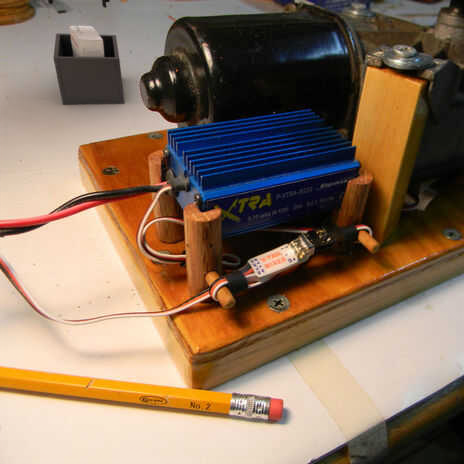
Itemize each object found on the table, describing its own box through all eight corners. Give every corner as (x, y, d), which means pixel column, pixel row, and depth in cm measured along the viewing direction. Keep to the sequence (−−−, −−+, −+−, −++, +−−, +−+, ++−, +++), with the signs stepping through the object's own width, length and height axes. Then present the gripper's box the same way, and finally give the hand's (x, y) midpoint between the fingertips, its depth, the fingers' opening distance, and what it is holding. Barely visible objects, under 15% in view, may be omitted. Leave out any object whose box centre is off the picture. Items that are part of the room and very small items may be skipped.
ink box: (110, 93, 104) (103, 38, 96) (86, 96, 101) (76, 39, 94) (99, 77, 109) (92, 24, 101) (76, 79, 106) (66, 25, 99)
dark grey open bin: (62, 104, 99) (53, 57, 92) (64, 77, 108) (55, 33, 102) (124, 103, 103) (119, 58, 97) (120, 77, 113) (115, 35, 106)
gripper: (115, -96, 89) (123, 1, 100) (9, -111, 83) (30, -5, 93) (117, -90, 84) (125, 12, 94) (4, -105, 78) (27, 6, 88)
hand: (78, 3), depth 94 cm, fingers open, 9 cm apart
